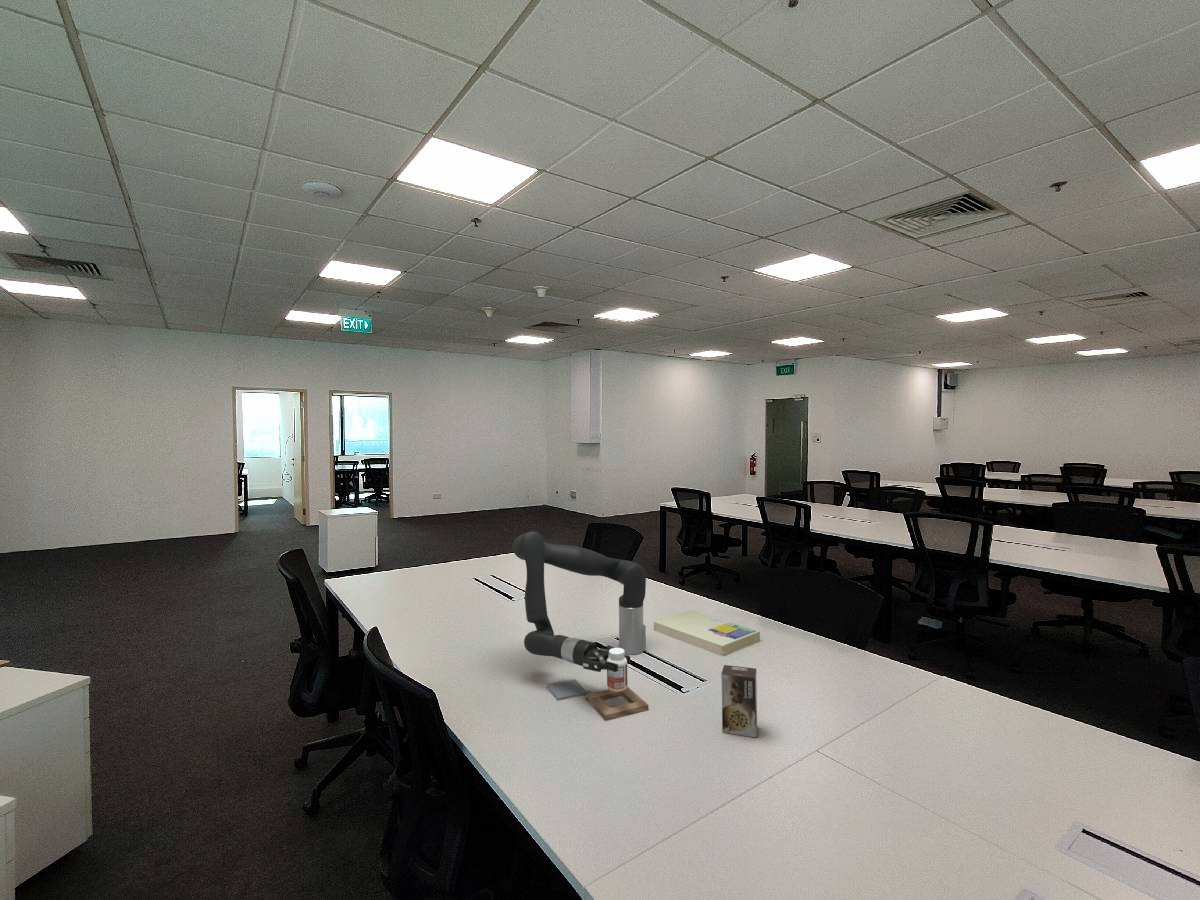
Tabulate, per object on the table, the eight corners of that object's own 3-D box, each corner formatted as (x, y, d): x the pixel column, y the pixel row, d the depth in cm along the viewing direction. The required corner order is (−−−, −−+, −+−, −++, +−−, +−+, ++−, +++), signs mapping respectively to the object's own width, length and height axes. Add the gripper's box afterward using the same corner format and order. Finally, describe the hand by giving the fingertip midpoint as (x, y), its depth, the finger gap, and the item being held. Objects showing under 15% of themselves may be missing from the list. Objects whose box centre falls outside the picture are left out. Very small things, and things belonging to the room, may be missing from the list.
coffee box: (757, 726, 147) (757, 668, 146) (756, 738, 140) (756, 677, 140) (723, 720, 150) (723, 663, 149) (721, 732, 143) (721, 673, 143)
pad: (575, 680, 175) (575, 679, 175) (587, 693, 166) (587, 691, 166) (546, 686, 171) (546, 685, 171) (557, 700, 162) (557, 698, 162)
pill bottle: (616, 680, 164) (615, 644, 164) (631, 686, 160) (631, 650, 159) (602, 687, 159) (602, 651, 159) (618, 694, 155) (617, 656, 155)
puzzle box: (691, 619, 238) (652, 631, 222) (691, 609, 237) (652, 620, 222) (761, 643, 209) (722, 658, 194) (761, 631, 209) (722, 646, 194)
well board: (626, 690, 169) (626, 685, 169) (648, 709, 156) (648, 704, 156) (585, 699, 163) (585, 694, 163) (605, 720, 150) (605, 715, 150)
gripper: (564, 647, 161) (610, 660, 152) (592, 632, 173) (636, 643, 164) (564, 671, 162) (610, 686, 152) (592, 655, 173) (636, 667, 164)
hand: (623, 664), depth 158 cm, fingers closed on pill bottle, 6 cm apart
